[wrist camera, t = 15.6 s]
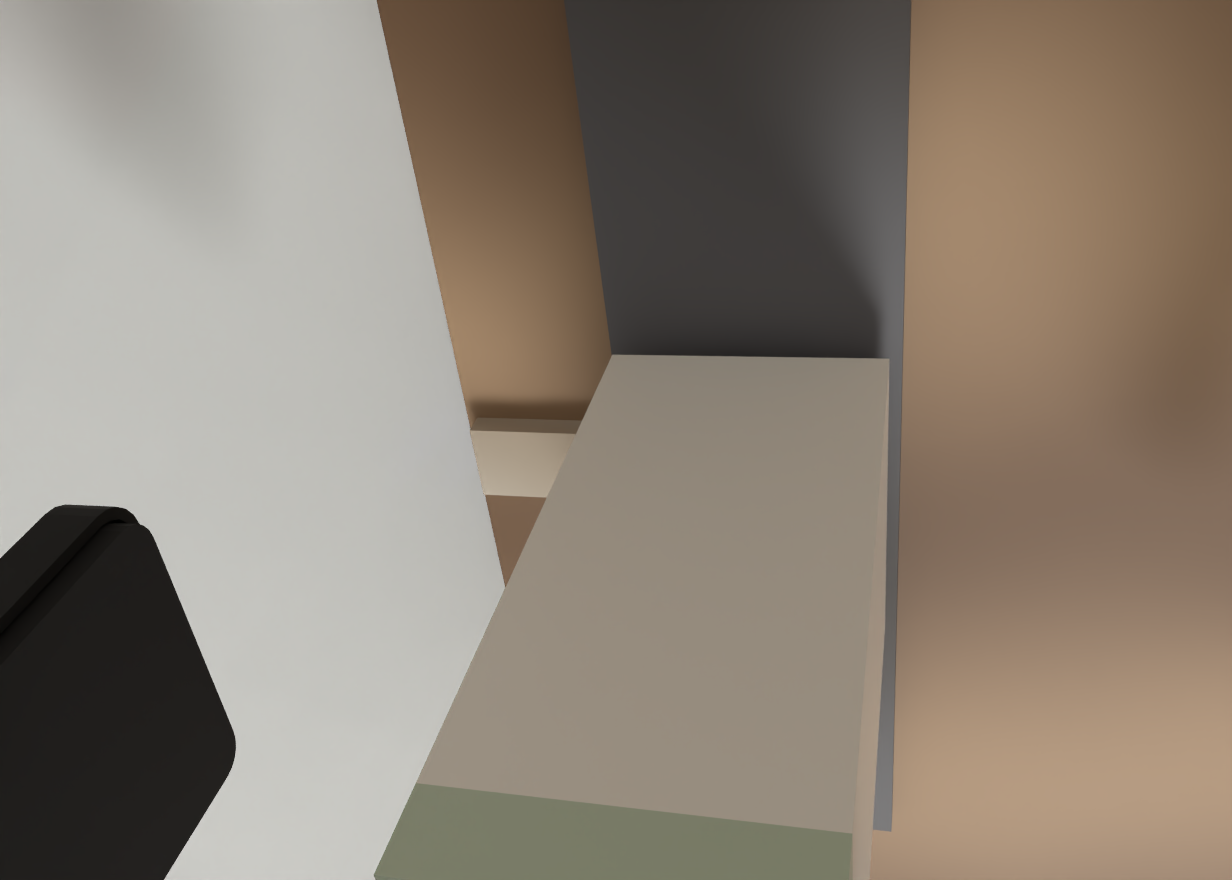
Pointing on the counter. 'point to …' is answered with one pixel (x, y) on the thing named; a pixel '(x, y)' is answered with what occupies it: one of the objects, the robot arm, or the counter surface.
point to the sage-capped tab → (680, 642)
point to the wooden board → (899, 350)
